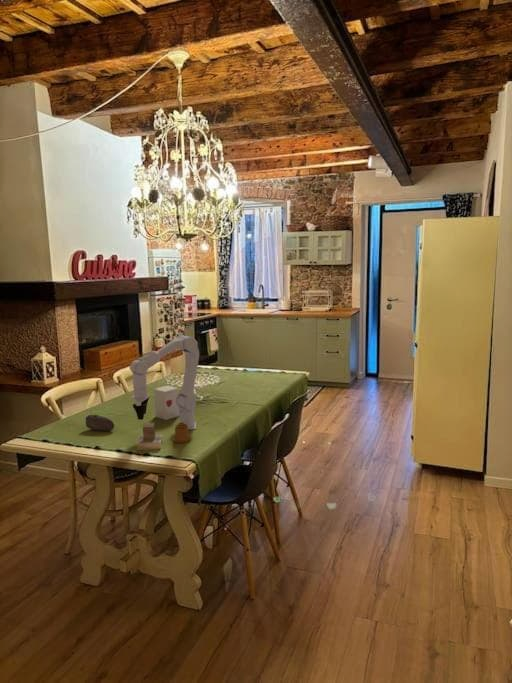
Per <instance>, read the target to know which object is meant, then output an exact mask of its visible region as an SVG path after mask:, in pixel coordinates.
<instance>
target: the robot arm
mask: <svg viewBox="0 0 512 683" xmlns="http://www.w3.org/2000/svg"><path fill="white" fill-rule="evenodd" d="M198 343H199V342H198V341H197V339H195V338H194V337H192V336H186V335H183V334H179V335H178V336H175V337H173V339H172V340H171V341H169V342H168V343H166V344H165V345H163V346H162V347H161V348H159V349H158V350H149V351H148V352H147V354H145V355H143V356H141V357H139V358H138V359H134V360H133V361H131V363H130V366H129V370H130V371H131V372H132V386H133V396H131V400H134V401H135V403H133V404H132V407H133V409H134V411H135V413H136V416H137V420H139V421H140V420H141V421H143V420H144V416H145V415H146V413H147V409H148V408H147V405H148V401H149V400H150V397H149V395H148V387H147V375H146V374H147V372H148V371H149V369H150V368H152V367H153V366H155V365H156V364H158V363H160V361H161V358H163V357H165V356H166V355H168V354H170V353H172V352H173V351H175V350H181V351H183V352H184V354H185V355H186V362H185V369H184V376H183V379H182V381H183V382H182V386H181V389H180V390H178V396H177V398H176V404H177V405H178V406H179V416H178V417H179V418H178V420H179V423H181V422H183V423H185V424H186V425H188V431H190V430H196V427H197V422H196V421H195V408H196V406H197V399H196V398H197V395H196V392H195V391H194V390H195V384H196V378H197V373H198V366H199V358H200V351H199V347H198Z"/></svg>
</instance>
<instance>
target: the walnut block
mask: <svg viewBox="0 0 512 683" xmlns="http://www.w3.org/2000/svg"><path fill="white" fill-rule="evenodd" d="M155 434H156V428H155V422H154V423H153V422H151V423H143V425H142V435H143V438H144V441H145V440H154V439H155Z"/></svg>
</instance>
